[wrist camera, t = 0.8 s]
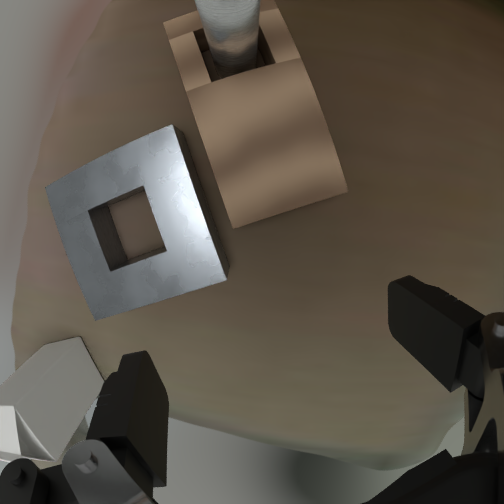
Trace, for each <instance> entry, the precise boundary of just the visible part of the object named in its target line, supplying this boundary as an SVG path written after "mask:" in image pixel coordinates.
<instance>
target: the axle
mask: <svg viewBox="0 0 504 504" xmlns="http://www.w3.org/2000/svg"><path fill="white" fill-rule="evenodd" d="M195 2H196V6H197V9H198V12H199V15H200V19H201V22H202V25H203V29H204V32H205V35H206V38H207V42H208V45H209V48H210V52H211V55H212V58H213V62H214V65H215V68H216V72H217V74H218V75H219V77H220V78H221V79H223V78H226V77H229V76H233V75H236V74H239V73H242V72H246V71H249V70H253V69H256V59H257V44H258V29H259V14H260V0H195Z"/></svg>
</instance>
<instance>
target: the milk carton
mask: <svg viewBox="0 0 504 504" xmlns="http://www.w3.org/2000/svg"><path fill="white" fill-rule="evenodd" d="M103 383H104V380H103V378H102V377H101V375H100V373H99V371H98V370H97V368H96V366H95V364H94V362H93V360H92V359H91V357H90V355H89V353H88V351H87V349H86V347H85V345H84V343H83V341H82V339H81V337H75V338H71V339H67V340H62V341H58V342H54V343H49V344H45V345H44V346H42V347H41V348H40V349H39V350H38V351H37V352H36V353H35V354H34V355H32V356H31V357H30V358H29V359H28V360H27V361H26V362H25V363H24V364H23V365H22V366H21V367H19V368H18V369H17V370H16V371H15V372H14V373H13V374H12V375H11V376H10V377H9V378H8V379H7V380H6V381H5V382H4V383H3V384H2V385H1V386H0V460H2V461H6V462H11V461H13V460H15V459H19V458H27V459H28V458H29V459H35V460H42V461H50V462H56V461H57V460H58V458H59V457H60V455H61V453H62V452H63V450H64V449H65V447H66V445H67V444H68V442H69V440H70V439H71V437H72V435H73V434H74V432H75V431H76V429H77V427H78V426H79V424H80V422H81V421H82V419H83V418H84V416H85V415H86V413H87V411H88V410H89V408H90V407H91V405H92V403H93V402H94V400H95V399H96V397H97V396H98V394H99V393H100V391H101V388H102V385H103Z"/></svg>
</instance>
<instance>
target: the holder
mask: <svg viewBox="0 0 504 504" xmlns="http://www.w3.org/2000/svg"><path fill="white" fill-rule="evenodd" d="M45 189H46V192H47V196H48V199H49V203H50V206H51V209H52V213H53V216H54V219H55V222H56V225H57V228H58V231H59V234H60V237H61V240H62V242H63V245H64V248H65V251H66V253H67V256H68V259H69V261H70V264H71V266H72V269H73V271H74V274H75V276H76V279H77V281H78V283H79V286H80V288H81V290H82V293H83V295H84V297H85V300H86V302H87V304H88V306H89V308H90V311H91V313H92V315H93V317H94V319H95V321H96V320H99V319H102V318H106V317H109V316H112V315H116V314H119V313H122V312H126V311H129V310H132V309H135V308H139V307H142V306H145V305H149V304H152V303H155V302H158V301H162V300H165V299H168V298H171V297H174V296H178V295H181V294H184V293H187V292H190V291H194V290H197V289H200V288H203V287H206V286H209V285H212V284H216V283H219V282H222V281H225V280H227V276H228V272H229V268H230V266H229V263H228V260H227V257H226V255H225V252H224V249H223V246H222V244H221V241H220V238H219V235H218V232H217V230H216V227H215V224H214V221H213V218H212V215H211V213H210V210H209V207H208V204H207V201H206V198H205V195H204V192H203V190H202V187H201V184H200V181H199V178H198V175H197V172H196V169H195V166H194V163H193V160H192V157H191V154H190V151H189V149H188V146H187V143H186V140H185V137H184V134H183V132H182V131H180V130H179V129H178V128H176V127H175V126H174V125H173V124H172V125H169V126H167V127H165V128H162V129H160V130H157V131H155V132H153V133H150V134H148V135H146V136H143V137H141V138H139V139H137V140H135V141H132V142H130V143H128V144H126V145H124V146H122V147H119V148H117V149H115V150H113V151H111V152H109V153H107V154H105V155H103V156H101V157H99V158H97V159H95V160H93V161H91V162H89V163H87V164H86V165H84V166H82V167H80V168H78V169H76V170H74V171H73V172H71V173H69V174H67V175H65V176H64V177H62V178H60V179H58V180H57V181H55V182H53V183H52V184H50V185H48V186H47V187H45ZM144 190H145V191H146V194H147V197H148V200H149V202H150V205H151V208H152V211H153V214H154V217H155V219H156V222H157V225H158V228H159V230H160V233H161V236H162V239H163V241H164V244H165V247H162V248H159V249H156V250H154V251H151V252H148V253H145V254H143V255H140V256H137V257H135V258H132V259H129V260H127V258H126V255H125V252H124V250H123V247H122V245H121V242H120V239H119V237H118V234H117V231H116V228H115V226H114V223H113V220H112V217H111V214H110V211H109V208H108V206H110V205H112V204H114V203H116V202H119V201H121V200H123V199H125V198H128V197H130V196H132V195H135V194H137V193H139V192H142V191H144Z"/></svg>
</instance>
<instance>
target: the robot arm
mask: <svg viewBox="0 0 504 504" xmlns="http://www.w3.org/2000/svg"><path fill="white" fill-rule="evenodd" d="M388 324H389V329H390V332H391V334H392V336H393V337H394V338H395V339H396V340H397V341H398V342H399V343H400V344H401V345H402V346H403V347H404V348H405V349H406V350H407V351H408V352H409V353H410V354H411V355H412V356H413V357H415V358H416V359H417V360H418V361H419V362H420V363H421V364H422V365H423V366H424V367H425V368H426V369H427V370H428V371H429V372H430V373H431V374H432V375H433V376H434V377H435V378H436V379H437V380H438V381H439V382H440V383H441V384H442V385H443V386H444V387H445V388H446V389H447V390H448V391H449V392H450V393H451V392H452V391H454V390H455V389H457V388H459V387H460V386H462V385H464V386H465V387H466V390H465V393H464V409H465V434H464V437H465V438H464V446H463V450H462V453H461V456H457V457H452V456H451V455H450V454H449V453H448V451H447V450H446V449H445V450H443V451H442V452H440V453H438V454H437V455H435V456H433V457H432V458H430V459H428V460H426V461H425V462H423V463H421V464H419V465H418V466H416V467H414V468H412V469H410V470H408V471H407V472H406V473H404V474H403V475H402V476H401V477H400V478H399V479H397V480H396V481H395V482H393V483H392V484H391V485H390V486H388V487H387V488H386V489H384V490H383V491H382V492H380V493H379V494H378V495H376V496H375V497H374V498H372V499H371V500H369V501H368V502H365V503H362V504H504V312H495V313H491V314H488V315H487V316H485V315H483V314H481V313H480V312H478V311H477V310H475V309H473V308H472V307H470V306H469V305H467V304H465V303H464V302H462V301H460V300H457V298H455V297H454V296H452V295H449V293H447V292H445V291H444V290H442V289H440V288H439V287H435V286H431V285H427V284H424V283H423V282H421V281H419V280H418V279H416V278H414V277H413V276H410V275H408V276H405V277H403V278H400V279H397V280H394V281H392V282H390V283H389V285H388ZM99 396H100V397H99V398H98V401H97V404H96V405H97V407H95V410H94V413H93V417H92V420H91V423H90V427H89V430H88V433H87V437H86V440H84V441H81V442H79V443H77V444H75V445H73V446H72V447H71V448H70V449H69V450H68V451H67V452H66V454H65V455H64V457H63V460H62V464H60V465H57V466H53V467H49V468H45V469H41V470H40V469H39V468H38V467H37V466H36V465H35V464H34V463H33V462H32V461H31V460H29V459H27V458H19V459H15V460H13V461H11V462H10V463H9V464H8V465H7V466H6V467H5V468H4V469H3V471H2V473H1V475H0V504H158V503H157V502H156V501H155V499H154V498H153V487H164V486H166V478H167V477H166V474H167V473H166V472H167V436H168V434H167V433H168V413H169V401H168V395H167V392H166V389H165V387H164V385H163V383H162V381H161V379H160V376H159V374H158V372H157V370H156V368H155V366H154V364H153V362H152V359H151V357H150V355H149V354H148V352H147V351H140V352H135V353H130V354H125V355H123V356H122V359H121V362H120V365H119V368H118V371H117V372H113V373H111V375H110V376H109V377H108V378H107V379H106V381H105V382H104V383H103V385H102V388H101V391H100V394H99Z"/></svg>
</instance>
